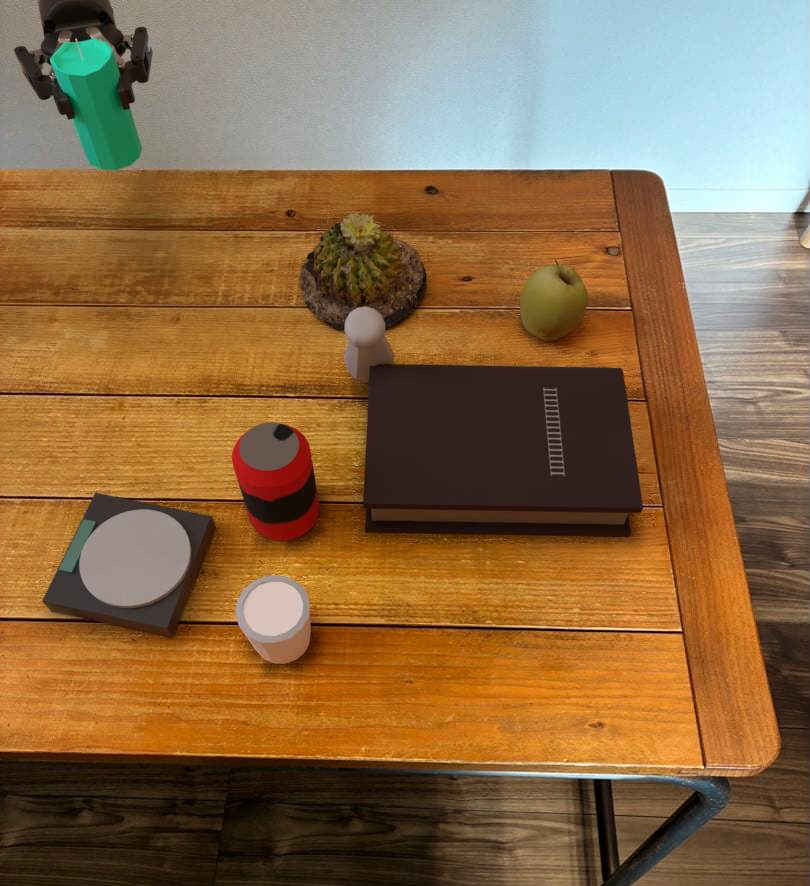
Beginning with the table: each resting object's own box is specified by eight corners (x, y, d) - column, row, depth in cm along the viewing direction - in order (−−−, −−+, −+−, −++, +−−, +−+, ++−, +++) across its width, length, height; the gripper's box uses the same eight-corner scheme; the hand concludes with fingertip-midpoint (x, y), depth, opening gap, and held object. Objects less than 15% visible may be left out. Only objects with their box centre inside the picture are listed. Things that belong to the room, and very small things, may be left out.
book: (609, 393, 96) (621, 359, 91) (628, 537, 87) (643, 508, 82) (371, 389, 96) (370, 355, 91) (365, 532, 87) (363, 503, 82)
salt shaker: (338, 352, 97) (327, 308, 84) (383, 334, 97) (379, 287, 84) (356, 396, 96) (349, 358, 84) (401, 378, 97) (400, 338, 84)
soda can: (333, 504, 89) (325, 437, 78) (290, 554, 86) (275, 492, 75) (279, 471, 91) (263, 402, 80) (234, 519, 88) (212, 454, 77)
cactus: (415, 341, 100) (417, 280, 92) (288, 326, 101) (277, 264, 93) (435, 245, 108) (438, 181, 100) (317, 231, 110) (310, 167, 101)
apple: (506, 343, 99) (524, 264, 92) (520, 313, 104) (537, 238, 97) (570, 360, 97) (593, 282, 91) (581, 329, 103) (603, 253, 96)
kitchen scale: (50, 611, 82) (39, 598, 80) (102, 504, 88) (93, 489, 86) (172, 638, 81) (165, 626, 78) (216, 527, 87) (210, 512, 84)
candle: (151, 140, 89) (118, 26, 79) (128, 174, 87) (91, 62, 76) (100, 130, 90) (61, 16, 80) (76, 164, 87) (32, 51, 77)
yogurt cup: (237, 661, 80) (224, 633, 74) (260, 599, 83) (249, 567, 77) (305, 677, 79) (297, 650, 73) (325, 614, 82) (319, 583, 76)
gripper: (-7, -14, 84) (6, 81, 77) (133, -35, 87) (159, 55, 79) (22, 58, 91) (37, 153, 83) (151, 37, 93) (177, 127, 85)
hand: (96, 105), depth 81 cm, fingers closed on candle, 5 cm apart
